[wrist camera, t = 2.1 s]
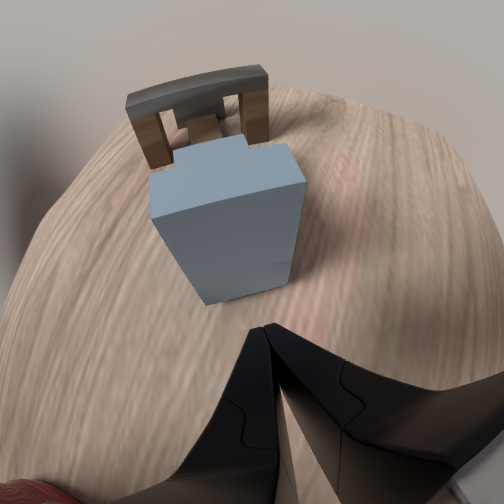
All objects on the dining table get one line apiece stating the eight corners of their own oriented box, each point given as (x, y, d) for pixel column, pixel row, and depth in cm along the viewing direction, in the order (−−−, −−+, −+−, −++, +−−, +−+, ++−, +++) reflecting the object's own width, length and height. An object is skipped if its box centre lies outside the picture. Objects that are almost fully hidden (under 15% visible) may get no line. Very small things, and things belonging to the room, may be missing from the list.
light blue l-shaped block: (287, 284, 16) (306, 181, 8) (205, 305, 16) (150, 219, 8) (246, 168, 21) (237, 64, 13) (184, 183, 21) (151, 83, 13)
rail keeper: (318, 250, 18) (342, 180, 12) (160, 291, 17) (110, 238, 11) (250, 107, 27) (247, 50, 20) (150, 130, 26) (132, 77, 20)
